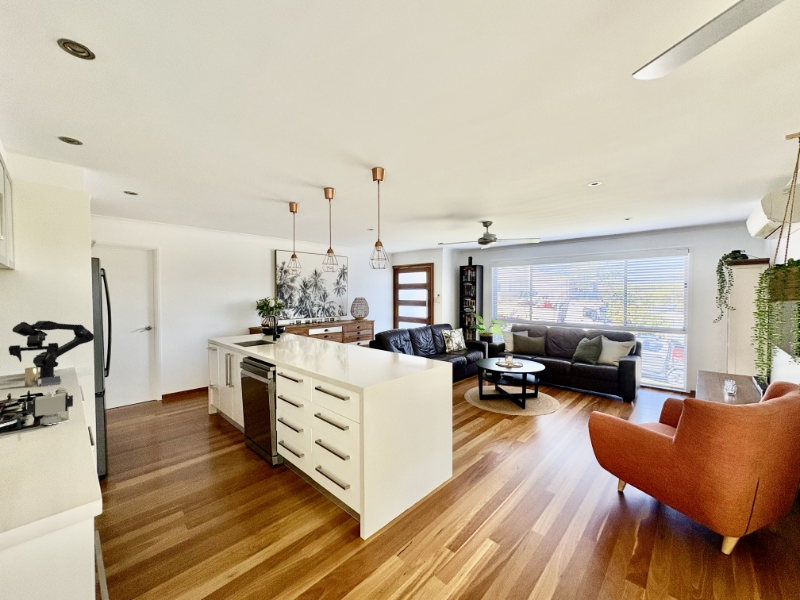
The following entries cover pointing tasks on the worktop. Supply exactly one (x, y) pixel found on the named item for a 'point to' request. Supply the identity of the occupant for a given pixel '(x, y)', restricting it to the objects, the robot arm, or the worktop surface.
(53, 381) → the press bed
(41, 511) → the worktop surface
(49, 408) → the pneumatic valve
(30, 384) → the ball
